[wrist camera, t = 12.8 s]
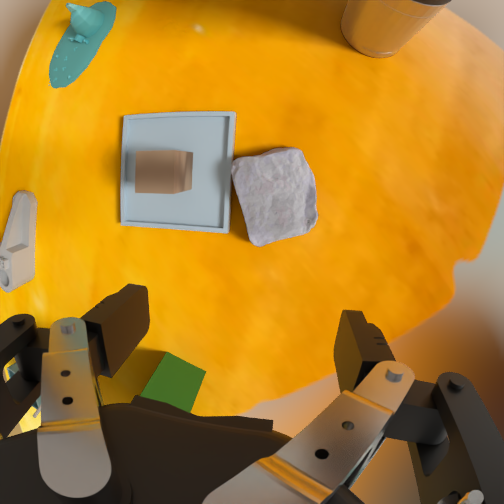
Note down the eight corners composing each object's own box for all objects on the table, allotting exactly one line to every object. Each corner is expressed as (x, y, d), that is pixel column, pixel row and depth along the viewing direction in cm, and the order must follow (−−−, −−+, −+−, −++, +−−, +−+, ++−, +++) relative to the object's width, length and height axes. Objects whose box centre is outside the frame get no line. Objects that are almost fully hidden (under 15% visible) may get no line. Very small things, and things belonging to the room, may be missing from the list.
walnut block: (158, 152, 39) (136, 151, 33) (193, 152, 39) (175, 150, 32) (157, 188, 41) (134, 192, 34) (191, 189, 40) (173, 194, 34)
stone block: (297, 142, 40) (225, 161, 39) (306, 139, 35) (226, 160, 35) (318, 225, 43) (250, 245, 43) (329, 231, 38) (254, 254, 38)
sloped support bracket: (38, 194, 44) (8, 201, 36) (35, 284, 49) (9, 299, 42) (20, 188, 44) (-10, 194, 36) (18, 274, 49) (-7, 288, 42)
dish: (128, 116, 39) (124, 115, 38) (236, 113, 38) (234, 111, 36) (125, 223, 43) (121, 225, 42) (229, 231, 42) (227, 233, 41)
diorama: (35, 83, 39) (3, 77, 30) (92, -8, 33) (67, -26, 25) (70, 106, 39) (36, 100, 31) (136, 4, 34) (111, -18, 26)
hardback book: (175, 424, 54) (136, 517, 31) (143, 408, 54) (94, 496, 31) (206, 371, 49) (161, 485, 26) (167, 351, 49) (103, 456, 26)
